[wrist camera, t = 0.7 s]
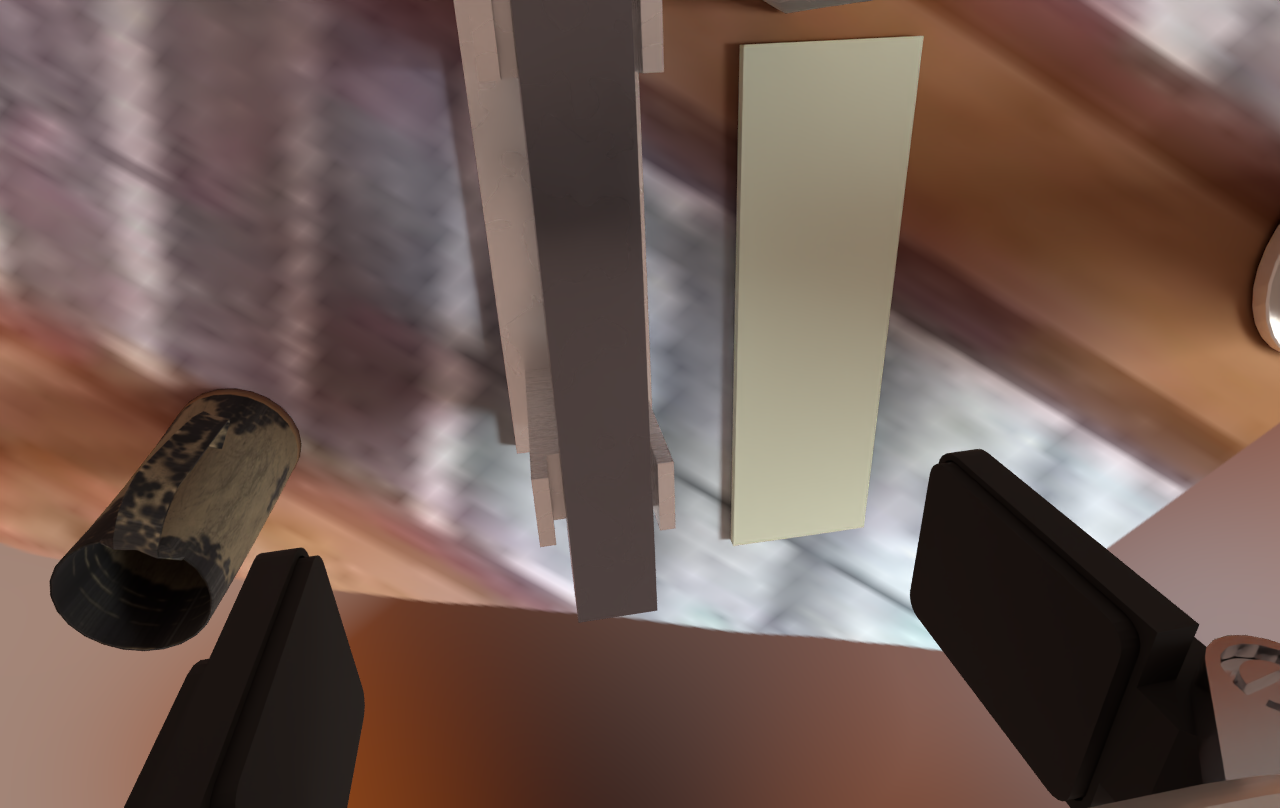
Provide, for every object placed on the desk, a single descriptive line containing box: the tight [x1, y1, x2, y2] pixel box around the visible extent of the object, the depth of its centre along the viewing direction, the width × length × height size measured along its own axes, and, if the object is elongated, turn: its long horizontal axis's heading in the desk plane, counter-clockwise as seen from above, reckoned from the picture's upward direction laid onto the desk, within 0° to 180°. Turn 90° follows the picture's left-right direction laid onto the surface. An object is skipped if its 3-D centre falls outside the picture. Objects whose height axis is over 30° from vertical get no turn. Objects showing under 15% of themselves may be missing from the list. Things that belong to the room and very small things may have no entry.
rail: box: [510, 0, 657, 622], centre depth 23 cm, size 3×24×3 cm, turn 2°
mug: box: [50, 389, 301, 651], centre depth 29 cm, size 8×6×12 cm
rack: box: [454, 0, 675, 547], centre depth 28 cm, size 7×22×11 cm, turn 2°
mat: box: [731, 36, 924, 546], centre depth 36 cm, size 8×26×1 cm, turn 2°
